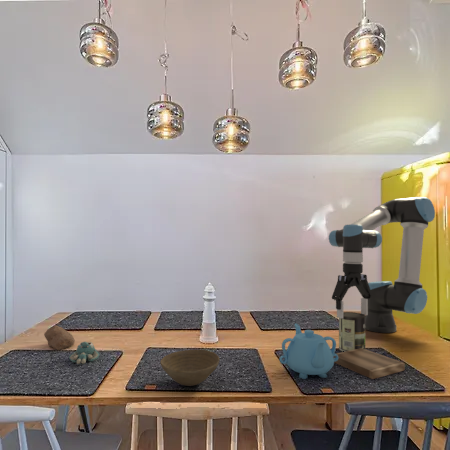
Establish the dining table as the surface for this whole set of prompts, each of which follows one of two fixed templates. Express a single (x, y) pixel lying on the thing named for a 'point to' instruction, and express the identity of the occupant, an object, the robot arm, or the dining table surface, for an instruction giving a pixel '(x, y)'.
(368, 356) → the walnut board
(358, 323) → the coffee can
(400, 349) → the dining table surface
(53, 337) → the stone
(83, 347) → the stuffed animal
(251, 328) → the dining table surface
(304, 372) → the teapot
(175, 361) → the bowl
